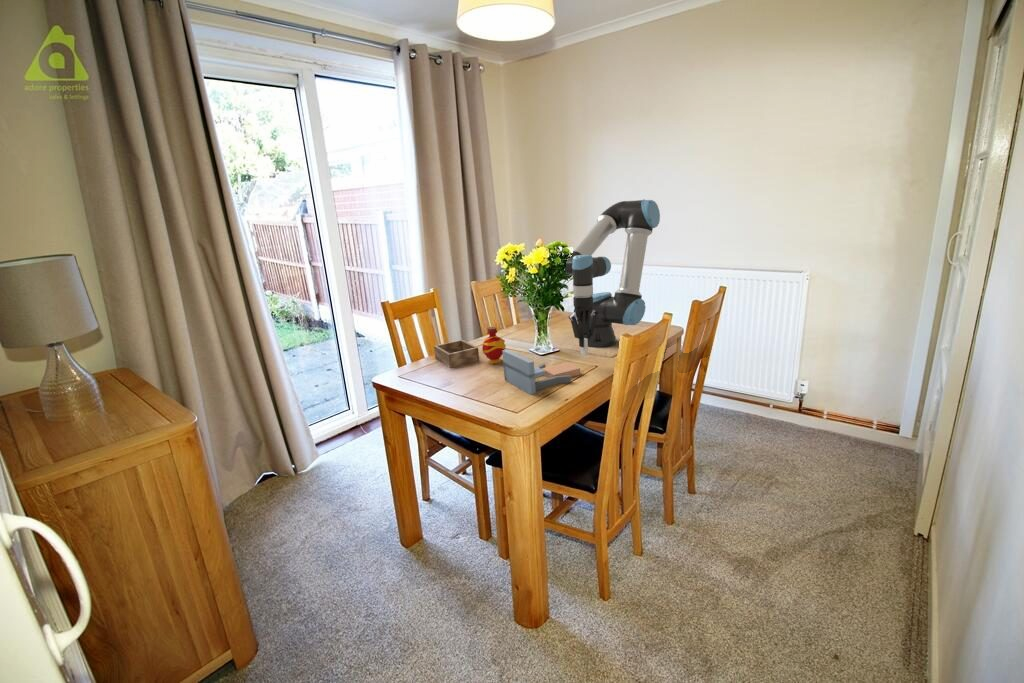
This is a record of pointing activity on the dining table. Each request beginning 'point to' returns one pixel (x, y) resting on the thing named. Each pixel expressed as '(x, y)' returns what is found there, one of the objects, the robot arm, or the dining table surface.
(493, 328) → the potion bottle
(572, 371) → the terracotta tile
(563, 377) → the grey docking fixture
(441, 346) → the walnut display tray
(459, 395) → the dining table surface
